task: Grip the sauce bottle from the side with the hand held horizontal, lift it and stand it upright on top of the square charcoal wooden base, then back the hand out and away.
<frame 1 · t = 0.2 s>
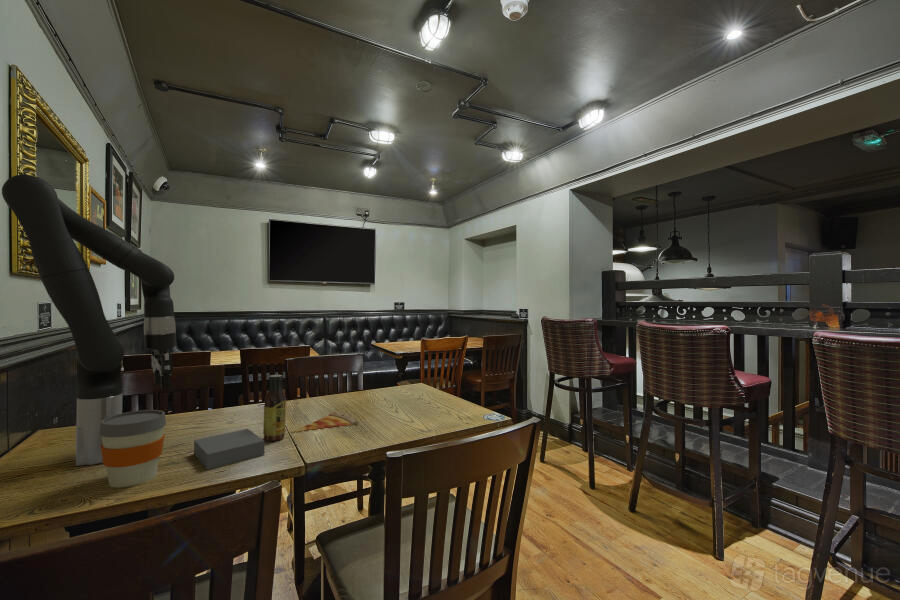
hand: (162, 386, 114), 18 cm above the table, tool pointing down, fingers open, 8 cm apart
reusable coffee cup: (133, 479, 94), on the table
sauce bottle: (274, 439, 121), on the table
pizza slice: (323, 424, 138), on the table
charcoal base: (229, 454, 109), on the table
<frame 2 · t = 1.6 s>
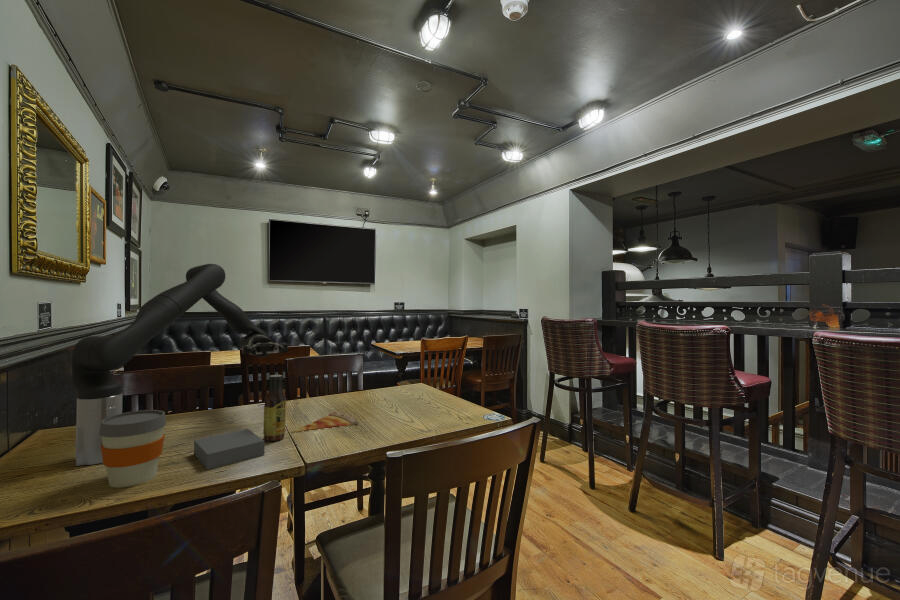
hand: (269, 351, 130), 26 cm above the table, tool horizontal, fingers open, 8 cm apart
nothing on the table moved.
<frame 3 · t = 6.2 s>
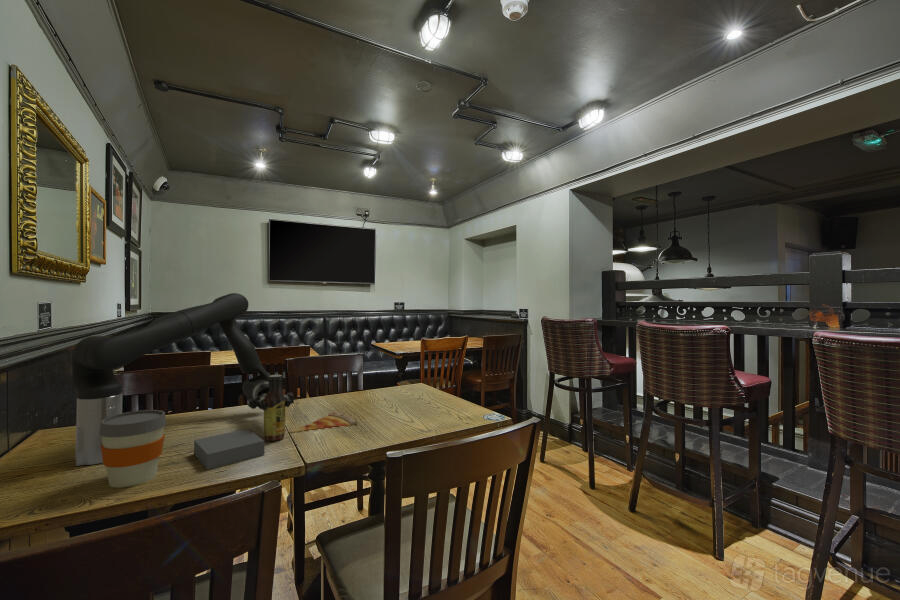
hand: (276, 405, 120), 11 cm above the table, tool horizontal, fingers closed on sauce bottle, 6 cm apart
sauce bottle: (274, 439, 121), on the table, touching gripper
everything else where it was.
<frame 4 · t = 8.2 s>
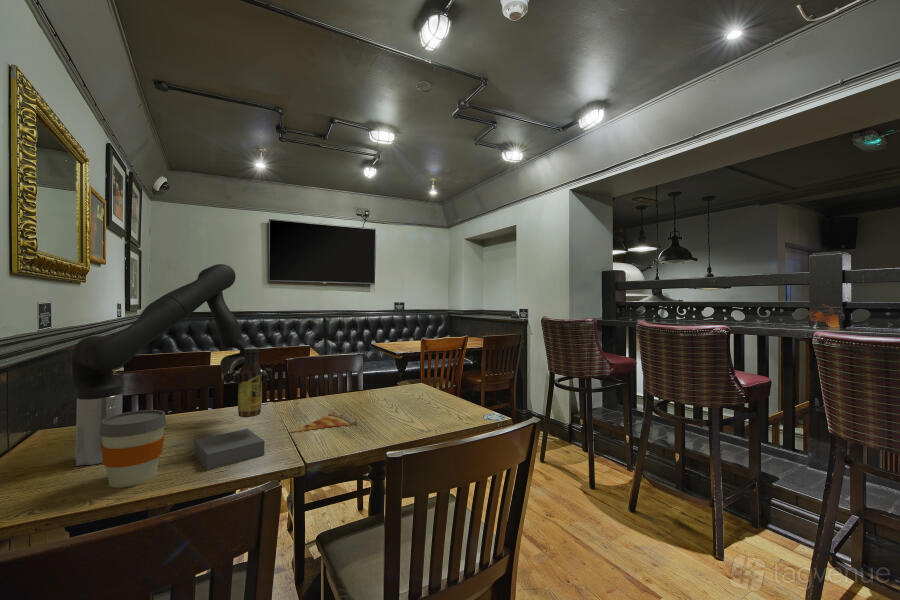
hand: (252, 379, 112), 21 cm above the table, tool horizontal, fingers closed on sauce bottle, 6 cm apart
sauce bottle: (249, 415, 114), point 9 cm above the table, touching gripper
everything else where it was.
when the fingers open (16 cm above the table, at t = 10.2 s): sauce bottle drops 1 cm, resting on charcoal base.
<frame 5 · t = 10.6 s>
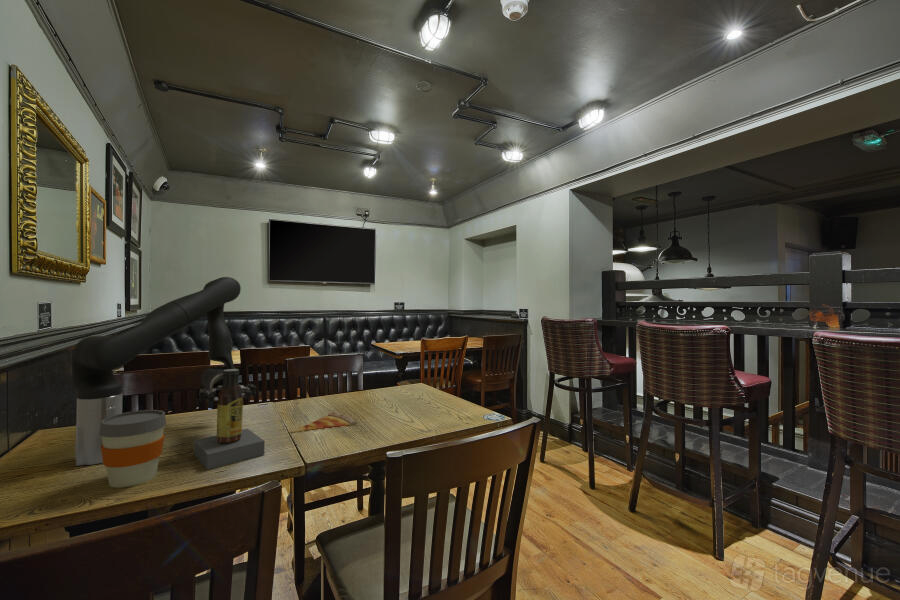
hand: (230, 397, 107), 17 cm above the table, tool horizontal, fingers open, 8 cm apart
sauce bottle: (229, 440, 109), point 4 cm above the table, touching charcoal base
everything else where it was.
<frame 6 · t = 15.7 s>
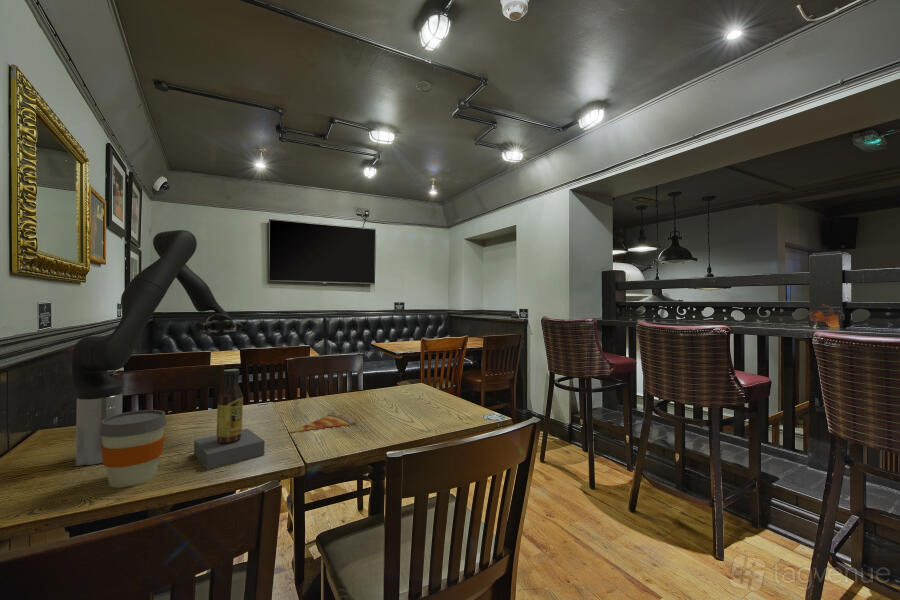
hand: (223, 327, 119), 35 cm above the table, tool horizontal, fingers open, 8 cm apart
nothing on the table moved.
at the end: sauce bottle inside the target area on the charcoal base (0.1 cm from its centre), point 3.8 cm above the charcoal base's base; sauce bottle tilted 0°; the gripper is holding nothing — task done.
